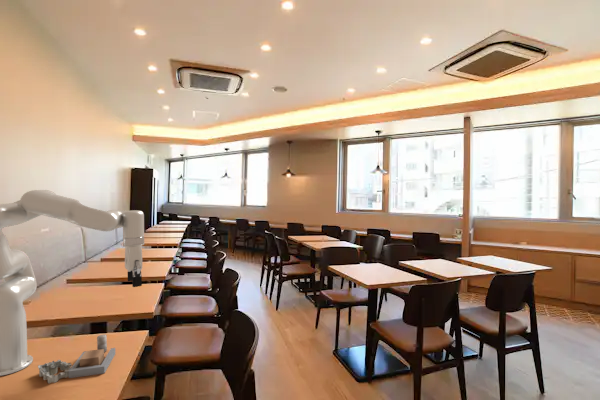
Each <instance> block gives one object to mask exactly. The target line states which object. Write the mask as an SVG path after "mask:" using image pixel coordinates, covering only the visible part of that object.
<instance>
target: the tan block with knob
mask: <svg viewBox="0 0 600 400" xmlns="http://www.w3.org/2000/svg"><path fill="white" fill-rule="evenodd" d="M107 339H108V338H107V334H100V335H97V338H96V340H97V341H96V343H97V345H96V348H97V349H93V350H92V349H91V350H85V351H86V352H85V353H84V354H83V356H82V357H81V358H80V367H88V366H96V365H101V364H102V362H103V361H104V359H105V352H107V350H108V349H107V348H108V346H107V345H108V343H107Z"/></svg>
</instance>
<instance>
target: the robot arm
mask: <svg viewBox="0 0 600 400" xmlns="http://www.w3.org/2000/svg"><path fill="white" fill-rule="evenodd" d="M41 216H45V217H49V218H53V219H58V220H61V221H65V222H69V223H70V224H73V225H76V226H79V227H83V228H86V229H90V230H96V231H99V232H111V231H114V230H117V229H120V228H122V241H123V242H122V246H123V247H125V249H124V250H125V251H124V268H125V270H127V282H132V288H137V287H142V286H143V284H142V283H143V280H142V279H143V278H142V277H143V276H142V270H143V249H142V246H144V245H145V214H144V212H143V211H142V210H137V209H136V210H135V209H134V210H133V209H132V210H131V209H130V210H121V209H120V210H119V209H112V210H101V209H97V208H93V207H89V206H86V205H85V204H82V203H81V202H80V201H79V200H77V199H75V198H71V197H67V196H63V195H58V194H56V193H55V191H54V192H53V191H51V190H47V189H32V190H28V191H26V192H25V193H24V194H22V196H21V197H20V200H17V201H13V202H10V203H0V280H3V279H4V282H1V283H0V377H1V376H7V375H9V374H10V375H11V374H13V373H17V372H19V371H21V370H23V369H26V368H27V367H29V366H30V365H31V364H32V363H33V360H34V357H33V356H32V355H30V354H28V336H27V335H28V333H27V332H28V331H27V329H28V328H27V327H28V326H27V312H26V310H25V307H24V304H23V302H24V301H26V300H27V299H28V298H30V297H31V296H33V295H34V294H35V292H36V290H37V288H38V287H37V286H38V283H37V279H36V276H35V272H34V268H33V265H32V262H31V259H30V257H29V256H28V254H27V253H26V252H24V251H23V250H22V249H18V248H11V246H10V243H9V240H8V237H7V236H6V235H5V233H4V232H3V230H2V229H4V228H8V227H12V226H17V225H20V224H24V223H27V222H29V221H31V220H33V219H36V218H38V217H41Z"/></svg>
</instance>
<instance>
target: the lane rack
mask: <svg viewBox="0 0 600 400" xmlns="http://www.w3.org/2000/svg"><path fill="white" fill-rule="evenodd" d="M86 351H87V350H85V351H83V352H82V353H81V354H80V356H79V357H78V358H77V360H76V361H75V362H74V363H73V364H72V366H71V367H70V368H71V369H70V370H69V377H68V379H73V378H80V377H88V376H95V375H103V374H105V373H106V371H107V370H108V368H109V366H110V365H111V363H112V361H113V359H114V357H115V355H116V347H112V348H110V349H109V351H108V352H107V354H106V356H105V357H104V361H103V362H102V364H101V365H96V366H88V367H80V358H81V357H82V356H83V354H84V353H85V352H86Z"/></svg>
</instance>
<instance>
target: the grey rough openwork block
mask: <svg viewBox="0 0 600 400" xmlns="http://www.w3.org/2000/svg"><path fill="white" fill-rule="evenodd" d="M72 366H73V364H72V363H71V362H69V363H68V362H66V361H63V360H61V359H57V361H55V360H53V361H51V362H49V361H48V362H46V363H44V364H39V365H37V367H38V370H39V371H38V372H39V377H40V378H43V381H46V380H47V383H48V384H51V383H52V384H53V383H57V382H59V380H61V379H63V378H69V370H70V369H71V367H72ZM58 368H60V370H59V371H62V372H59V373H58ZM57 373H58V374H57Z"/></svg>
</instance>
